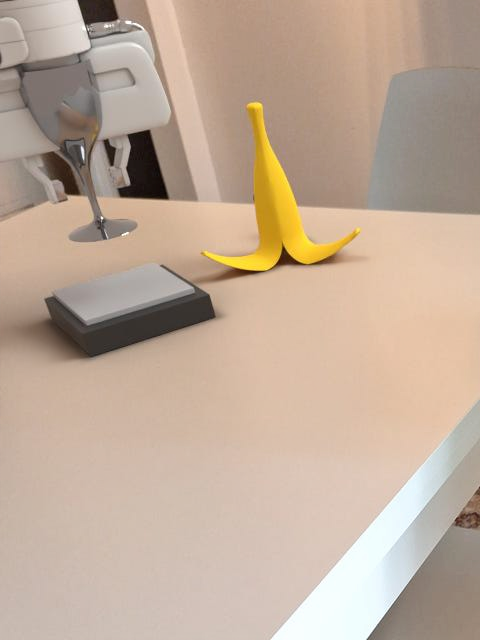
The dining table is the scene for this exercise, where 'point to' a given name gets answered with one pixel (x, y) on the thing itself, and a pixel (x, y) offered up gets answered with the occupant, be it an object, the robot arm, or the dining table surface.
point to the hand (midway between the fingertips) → (90, 194)
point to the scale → (128, 307)
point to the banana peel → (276, 212)
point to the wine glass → (73, 132)
